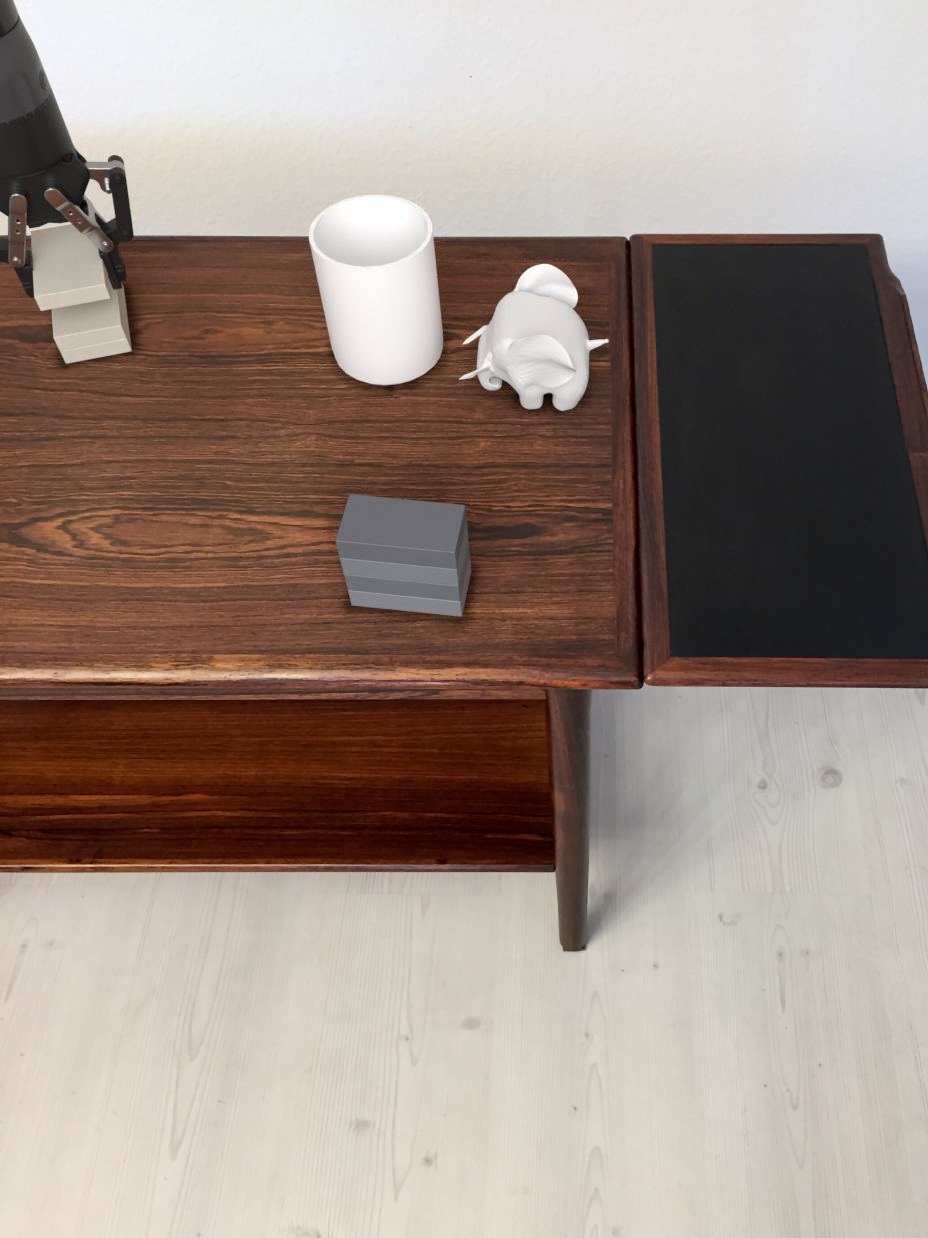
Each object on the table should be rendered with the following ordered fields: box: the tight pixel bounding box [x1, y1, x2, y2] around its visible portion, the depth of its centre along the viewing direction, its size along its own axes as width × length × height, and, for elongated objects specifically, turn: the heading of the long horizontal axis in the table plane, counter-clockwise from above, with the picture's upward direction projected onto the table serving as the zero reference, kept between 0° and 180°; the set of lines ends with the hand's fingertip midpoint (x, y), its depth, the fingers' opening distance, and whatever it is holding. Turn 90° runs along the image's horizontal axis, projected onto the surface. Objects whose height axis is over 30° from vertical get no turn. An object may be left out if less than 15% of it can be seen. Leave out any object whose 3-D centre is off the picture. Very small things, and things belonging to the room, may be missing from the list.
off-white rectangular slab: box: [30, 223, 111, 312], centre depth 87 cm, size 9×6×1 cm, turn 17°
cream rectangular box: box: [50, 278, 133, 365], centre depth 91 cm, size 9×6×3 cm, turn 17°
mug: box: [308, 193, 444, 386], centre depth 86 cm, size 10×12×12 cm
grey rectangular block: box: [334, 493, 472, 617], centre depth 73 cm, size 8×4×7 cm, turn 83°
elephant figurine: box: [458, 263, 610, 412], centre depth 85 cm, size 10×12×9 cm
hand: (80, 289), depth 89 cm, fingers closed on off-white rectangular slab, 5 cm apart
